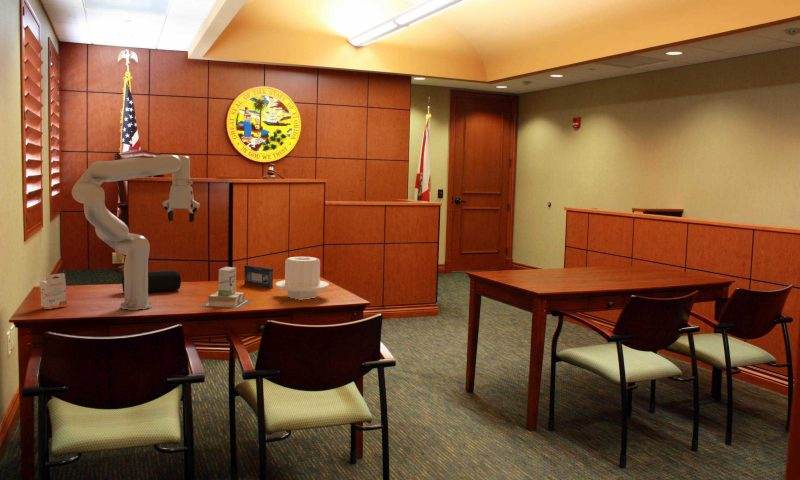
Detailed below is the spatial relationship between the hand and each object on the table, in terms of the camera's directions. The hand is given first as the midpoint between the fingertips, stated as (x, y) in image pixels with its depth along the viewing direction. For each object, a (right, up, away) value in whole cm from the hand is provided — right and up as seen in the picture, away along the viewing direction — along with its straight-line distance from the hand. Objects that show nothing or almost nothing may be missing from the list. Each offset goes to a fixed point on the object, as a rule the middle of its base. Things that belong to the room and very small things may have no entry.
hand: (181, 221), depth 303 cm
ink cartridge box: (-48, -37, -18) cm, 63 cm away
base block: (+21, -36, -2) cm, 42 cm away
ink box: (+21, -33, -3) cm, 39 cm away
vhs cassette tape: (+25, -32, +46) cm, 61 cm away
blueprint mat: (+21, -37, -2) cm, 43 cm away
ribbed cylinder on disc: (+51, -36, +20) cm, 66 cm away
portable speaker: (-21, -34, +22) cm, 45 cm away
